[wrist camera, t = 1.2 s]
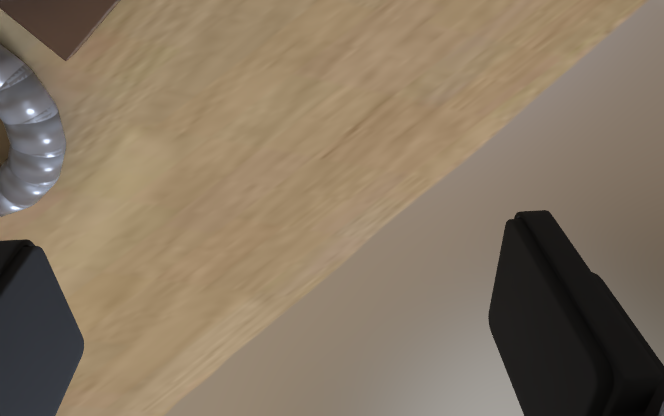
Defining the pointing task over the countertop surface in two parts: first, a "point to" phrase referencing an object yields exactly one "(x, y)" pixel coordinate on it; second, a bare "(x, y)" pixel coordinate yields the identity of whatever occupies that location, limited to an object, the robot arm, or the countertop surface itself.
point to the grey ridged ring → (27, 136)
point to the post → (60, 20)
